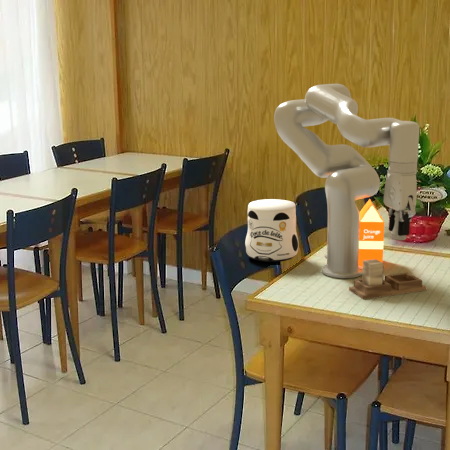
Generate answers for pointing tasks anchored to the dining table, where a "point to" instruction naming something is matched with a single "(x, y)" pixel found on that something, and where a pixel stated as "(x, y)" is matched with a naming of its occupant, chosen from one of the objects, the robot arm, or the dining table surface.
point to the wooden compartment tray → (383, 282)
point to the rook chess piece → (395, 230)
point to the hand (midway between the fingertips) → (398, 232)
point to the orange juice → (370, 234)
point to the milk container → (271, 230)
